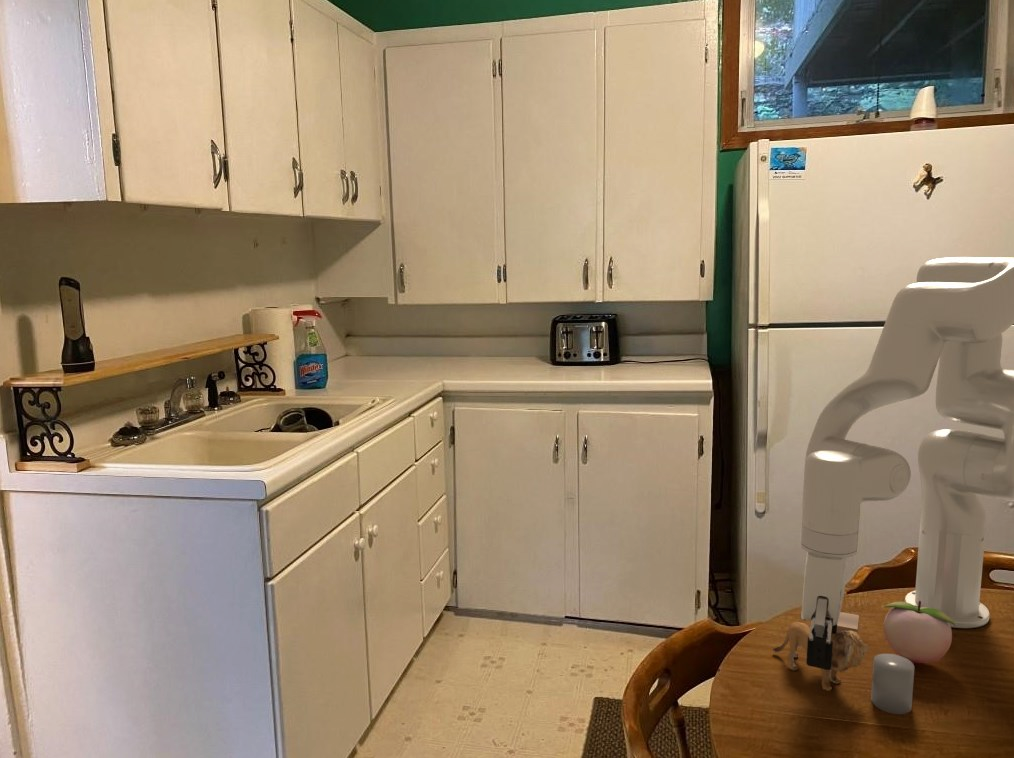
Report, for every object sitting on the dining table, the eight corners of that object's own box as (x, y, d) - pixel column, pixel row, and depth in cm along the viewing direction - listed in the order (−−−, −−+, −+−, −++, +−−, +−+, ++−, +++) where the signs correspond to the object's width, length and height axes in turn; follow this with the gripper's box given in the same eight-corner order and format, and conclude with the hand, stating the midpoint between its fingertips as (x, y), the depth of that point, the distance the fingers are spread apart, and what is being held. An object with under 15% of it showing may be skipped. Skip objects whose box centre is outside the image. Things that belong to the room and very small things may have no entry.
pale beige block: (831, 633, 126) (832, 610, 125) (857, 638, 124) (859, 615, 123) (828, 647, 122) (829, 624, 121) (856, 653, 120) (857, 629, 119)
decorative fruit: (881, 671, 114) (885, 608, 113) (880, 645, 122) (884, 585, 120) (954, 685, 110) (959, 620, 109) (949, 657, 118) (953, 595, 116)
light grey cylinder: (871, 689, 110) (874, 650, 109) (911, 697, 108) (914, 658, 107) (870, 708, 105) (872, 668, 104) (911, 717, 103) (914, 676, 102)
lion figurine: (871, 691, 110) (874, 632, 108) (849, 704, 107) (852, 643, 105) (783, 648, 122) (785, 594, 120) (761, 659, 119) (763, 604, 117)
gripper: (807, 516, 119) (801, 621, 121) (793, 555, 103) (786, 673, 106) (860, 523, 115) (853, 631, 118) (854, 564, 100) (846, 686, 103)
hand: (821, 651), depth 112 cm, fingers open, 9 cm apart
